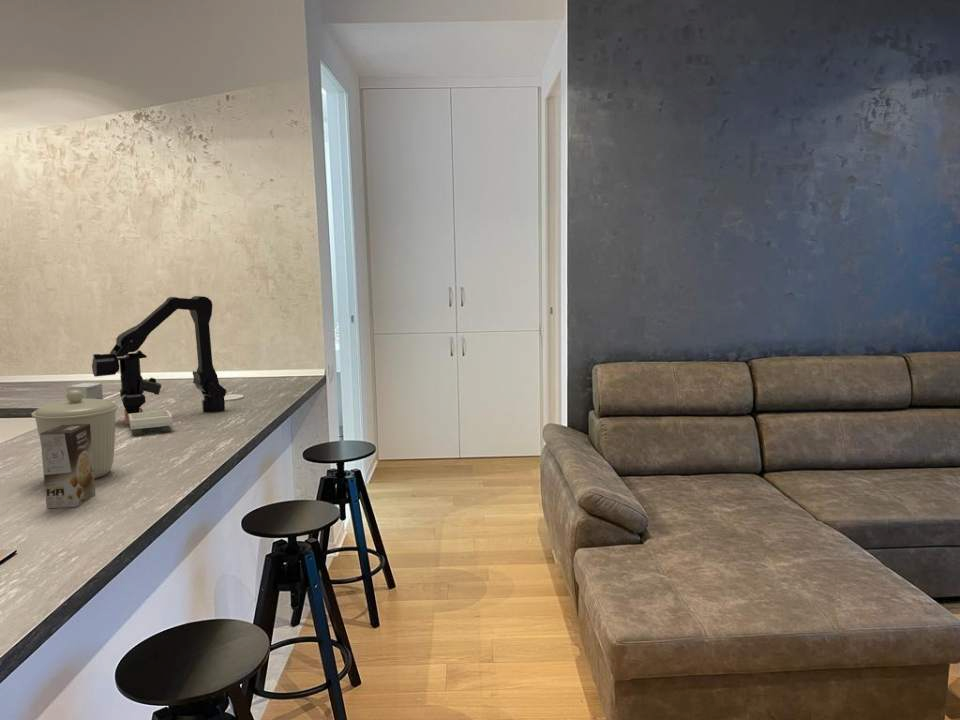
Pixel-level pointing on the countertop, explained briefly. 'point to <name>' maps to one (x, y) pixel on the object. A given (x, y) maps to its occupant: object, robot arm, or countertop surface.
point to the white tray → (150, 420)
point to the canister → (84, 412)
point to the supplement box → (88, 390)
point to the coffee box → (67, 465)
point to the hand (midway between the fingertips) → (134, 421)
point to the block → (128, 416)
